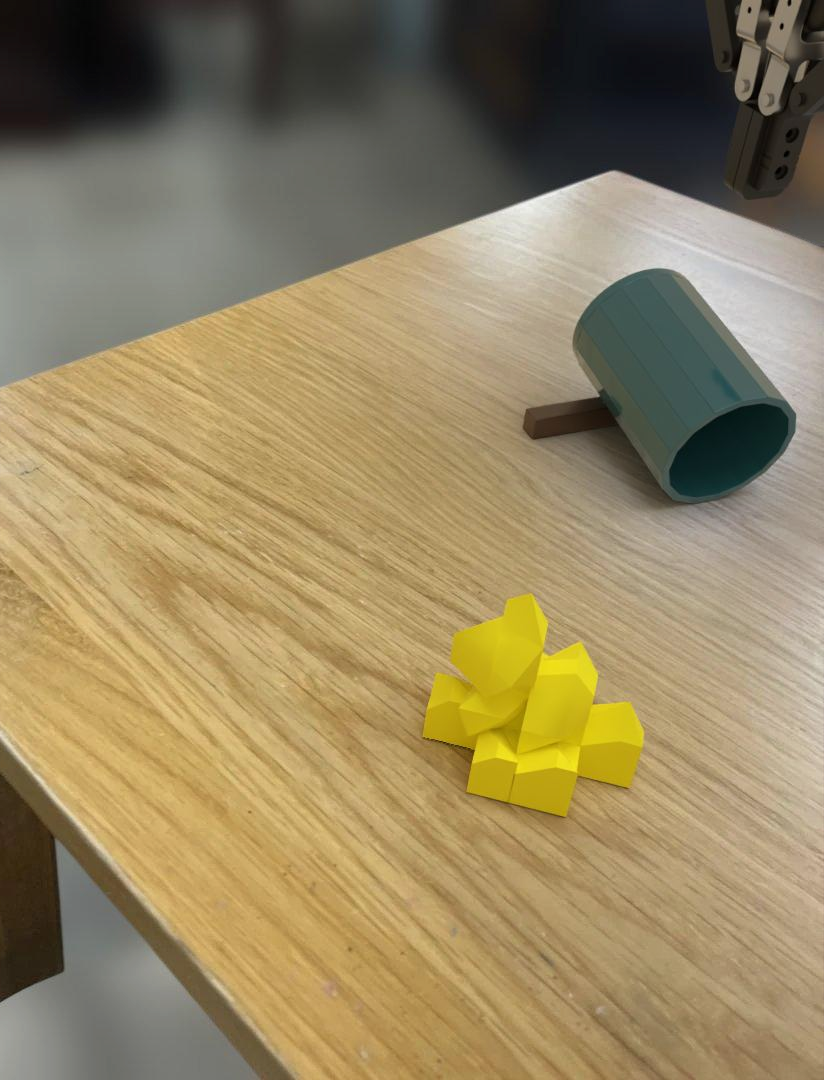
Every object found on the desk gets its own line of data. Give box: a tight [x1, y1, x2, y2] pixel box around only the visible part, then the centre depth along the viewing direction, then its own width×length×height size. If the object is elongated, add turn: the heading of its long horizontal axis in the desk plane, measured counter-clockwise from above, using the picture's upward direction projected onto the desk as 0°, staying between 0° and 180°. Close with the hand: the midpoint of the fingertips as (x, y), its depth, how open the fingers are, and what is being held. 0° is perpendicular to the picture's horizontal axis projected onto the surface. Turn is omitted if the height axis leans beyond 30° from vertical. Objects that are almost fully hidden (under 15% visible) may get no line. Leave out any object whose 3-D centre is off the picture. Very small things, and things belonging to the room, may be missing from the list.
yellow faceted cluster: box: [422, 592, 645, 818], centre depth 45 cm, size 6×8×8 cm
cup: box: [571, 267, 797, 504], centre depth 61 cm, size 7×7×10 cm
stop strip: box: [522, 396, 619, 440], centre depth 66 cm, size 12×1×1 cm, turn 108°
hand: (752, 190), depth 54 cm, fingers closed
